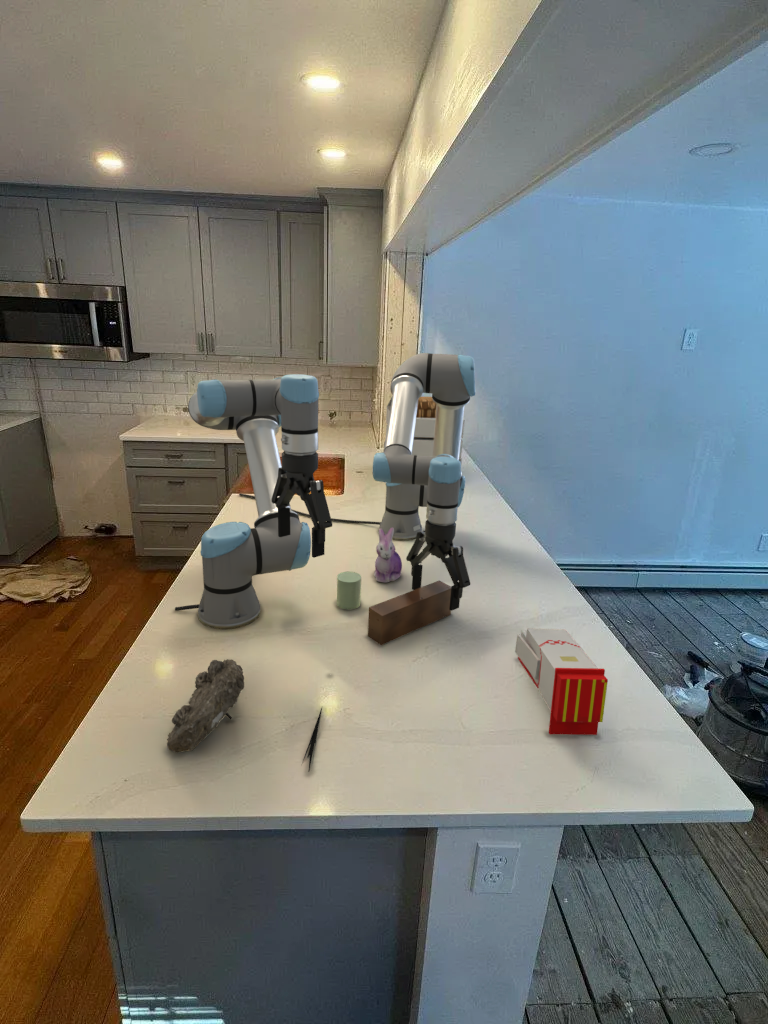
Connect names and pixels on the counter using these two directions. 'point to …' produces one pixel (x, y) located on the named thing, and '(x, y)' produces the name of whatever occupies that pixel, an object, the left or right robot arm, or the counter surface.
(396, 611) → the walnut box
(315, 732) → the feather
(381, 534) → the figurine
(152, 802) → the counter surface
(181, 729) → the fossil
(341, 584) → the pale green cylinder
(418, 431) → the transformer
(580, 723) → the toy
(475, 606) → the counter surface
